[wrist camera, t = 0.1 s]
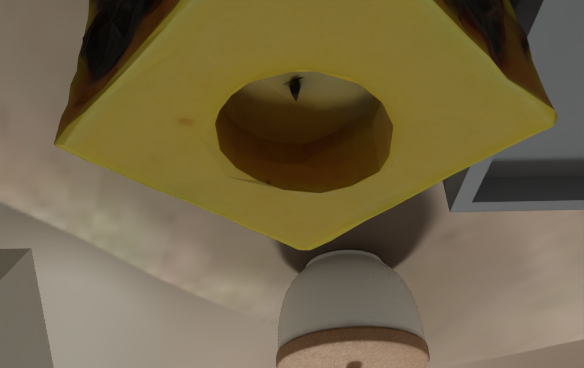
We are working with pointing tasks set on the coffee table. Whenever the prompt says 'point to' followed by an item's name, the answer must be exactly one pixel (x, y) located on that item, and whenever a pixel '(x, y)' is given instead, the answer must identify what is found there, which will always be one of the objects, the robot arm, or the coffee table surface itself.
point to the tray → (547, 144)
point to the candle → (300, 103)
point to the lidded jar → (350, 316)
